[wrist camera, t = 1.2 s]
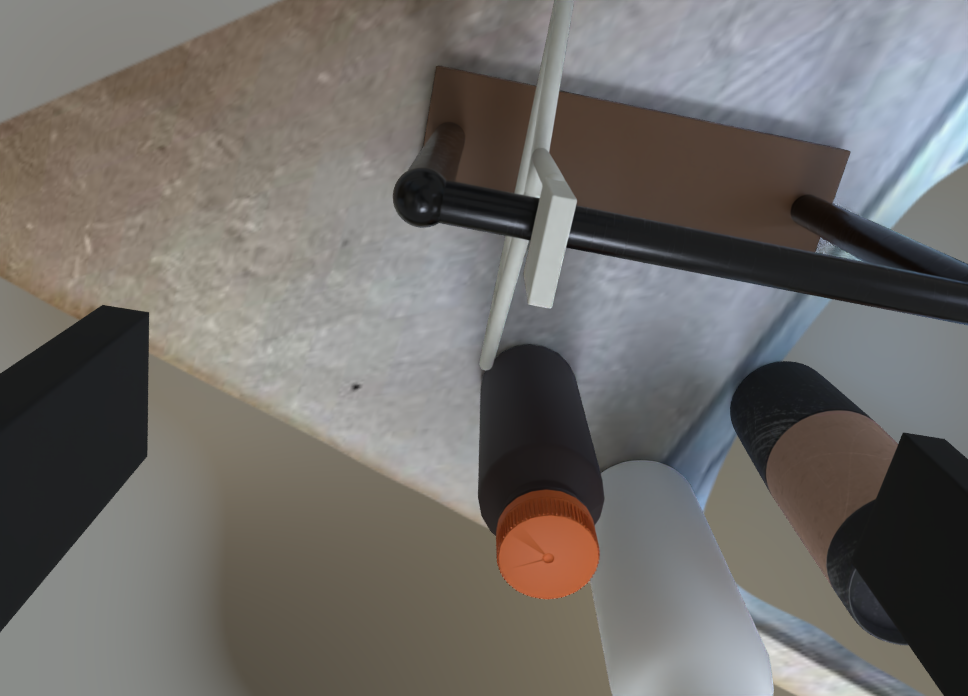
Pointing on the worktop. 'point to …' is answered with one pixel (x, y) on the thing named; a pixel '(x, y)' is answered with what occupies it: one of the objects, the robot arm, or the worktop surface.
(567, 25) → the hanger
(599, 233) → the rail
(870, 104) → the worktop surface
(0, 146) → the worktop surface
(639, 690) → the alcohol
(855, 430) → the travel mug
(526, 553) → the bottle
